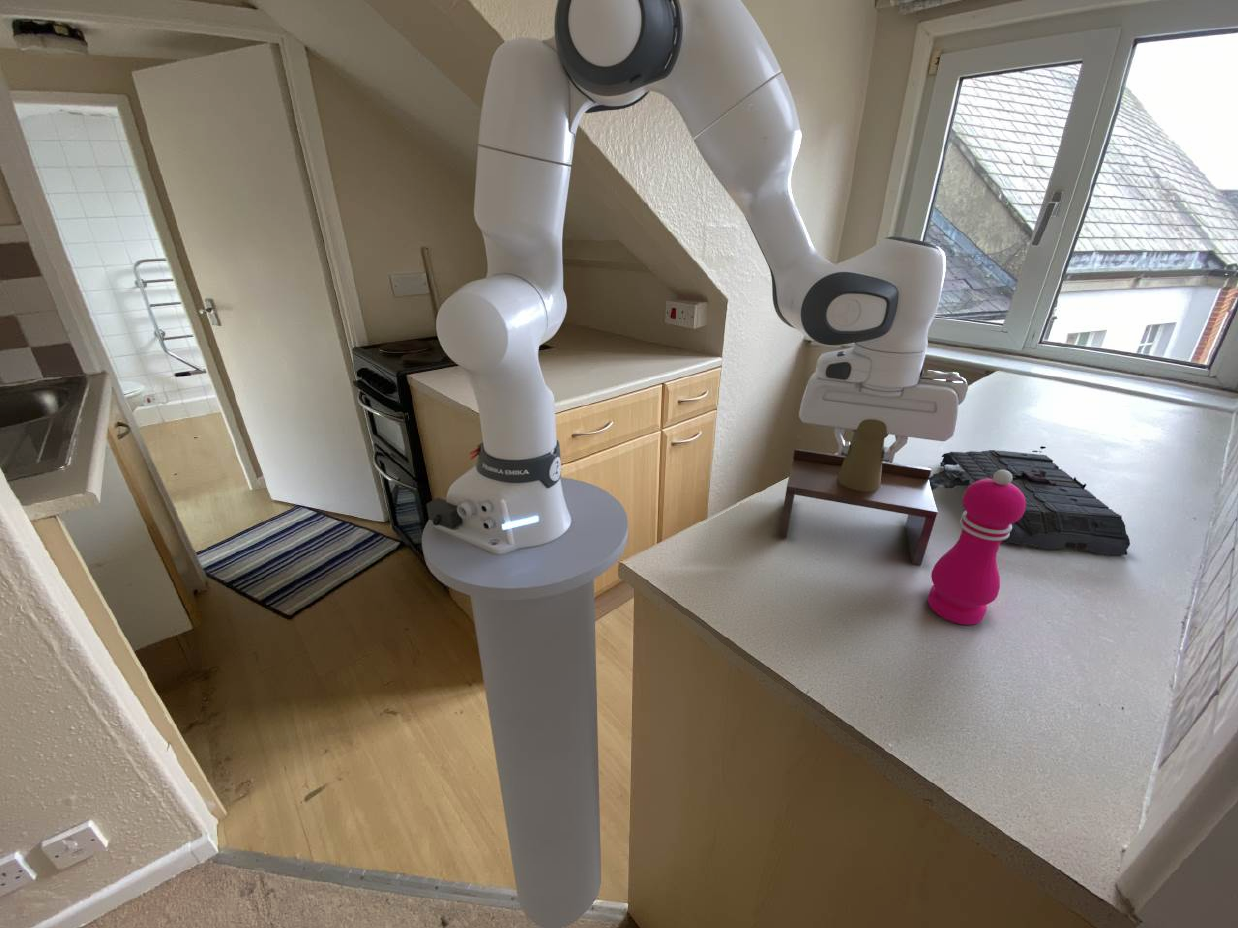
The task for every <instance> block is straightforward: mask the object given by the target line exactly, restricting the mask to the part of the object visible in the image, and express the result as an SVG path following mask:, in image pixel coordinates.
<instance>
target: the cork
mask: <svg viewBox="0 0 1238 928" xmlns="http://www.w3.org/2000/svg"><path fill="white" fill-rule="evenodd" d="M851 430H852V432H853V435H852V438H851V440H850V449H849V451H848V453H849V454H848V456H845V459H844V461H843V464H842V467H841V469H840V472H839V475H838V477H837V479H838V482H839V483H840V484H842V485H843V486H845V487H847V488H850V489H853V490H857V491H864V492H868V491H875V490H877V489H879V487H880V482H881V471H882V457H883V449H884V447H885V439H886V438H887V437H888V436H889V435H890V434H887V428H886V425H885V423H884V422H881V421H879V420H872V419H868V420H863V421H862V422H861V423H860V424H859V426H858V428H857V429H856V430H853V429H851Z"/></svg>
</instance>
